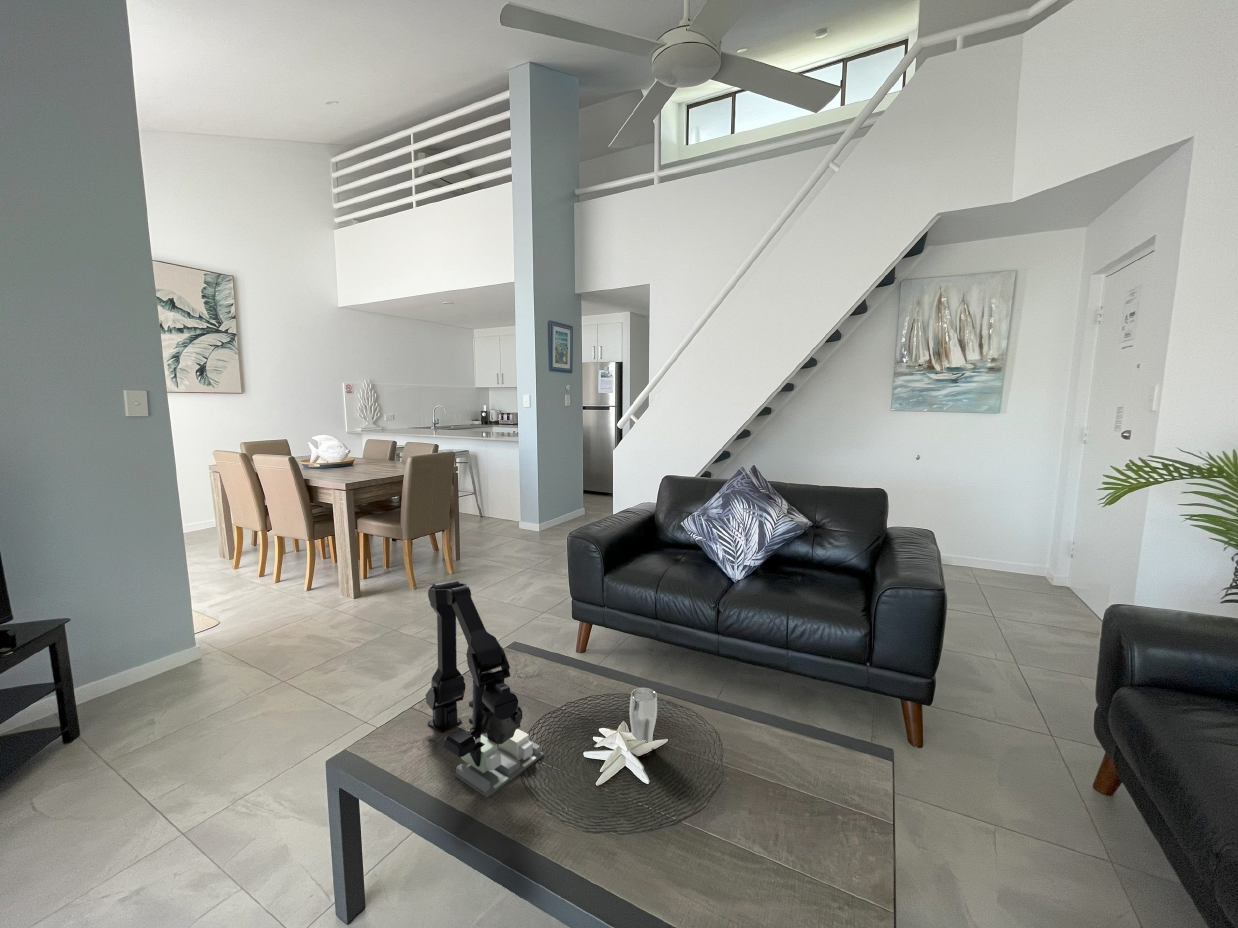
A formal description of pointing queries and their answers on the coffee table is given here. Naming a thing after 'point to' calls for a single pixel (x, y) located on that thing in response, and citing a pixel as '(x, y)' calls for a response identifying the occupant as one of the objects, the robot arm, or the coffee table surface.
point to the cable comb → (496, 772)
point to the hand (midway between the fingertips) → (485, 760)
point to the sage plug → (486, 756)
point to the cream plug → (518, 745)
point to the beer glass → (643, 713)
